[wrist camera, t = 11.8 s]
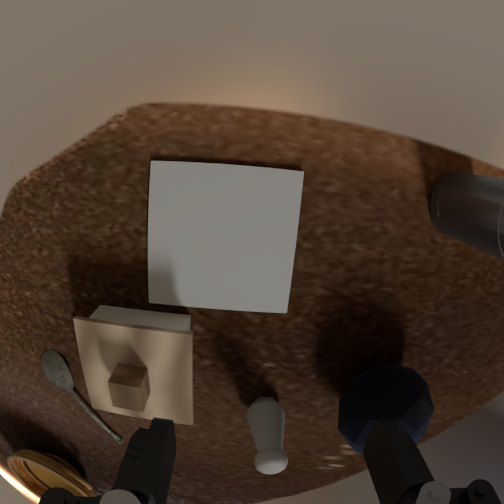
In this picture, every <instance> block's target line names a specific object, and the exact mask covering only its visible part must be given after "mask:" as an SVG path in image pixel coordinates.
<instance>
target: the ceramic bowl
mask: <svg viewBox="0 0 504 504" xmlns="http://www.w3.org/2000/svg"><path fill="white" fill-rule="evenodd" d="M7 463H8V466H9V468H10V470H11V472H12V473H13V474H14V476H15V477H16V478H17V479H18V480H19V481H20V482H21V483H22V484H23V485H24V486H25V487H26V488H27V489H29V490H30V491H31V492H33V493H34V494H35V495H37V496H38V497H40V498H41V497H42V495H43V493H44V492H45V491H46V490H48V489H50V488H54V487H60V488H64V489H67V490H69V491H70V492H71V493H72V494H73V495H74V496H85V497H96V496H95V493H94V491H93V487H92V485H91V484H90V483H88V482H87V481H86V480H85V479H84V478H83V477H82V476H81V475H79V473H78V471H77V470H76V469H75V468H74V467H73V466H72V465H70V464H69V463H68V462H66V461H65V460H63V459H62V458H60V457H58V456H55V455H53V454H49V453H43V452H40V451H36V450H32V449H22V450H19V451H16V452H15V453H13V454H12V455H11V456H9V457H8V458H7Z"/></svg>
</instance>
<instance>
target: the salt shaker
mask: <svg viewBox="0 0 504 504" xmlns="http://www.w3.org/2000/svg"><path fill="white" fill-rule="evenodd" d="M247 420H248V423H249V426H250V429H251V432H252V435H253V438H254V441H255V444H256V447H257V450H258V453H257V454H256V456H255V460H254V464H255V467H256V469H257V470H258V471H260V472H262V473H264V474H276V473H279V472H281V471H282V470H284V469H285V468H286V466H287V464H288V459H287V456H286V453H285V452H284V451H283V450H282V448H283V435H284V421H285V412H284V410H283V407H282V406H281V405H280V404H279V403H277V402H276V401H275V399H274V398H273V397H260V398H258V399H257V400H255V401H254V402H252V404H251V405H250V407H249V408H248V412H247Z"/></svg>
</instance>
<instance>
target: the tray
mask: <svg viewBox="0 0 504 504" xmlns="http://www.w3.org/2000/svg"><path fill="white" fill-rule="evenodd" d="M303 176H304V172H303V171H295V170H286V169H276V168H266V167H255V166H243V165H230V164H216V163H198V162H176V161H151V168H150V185H149V210H148V292H149V303H157V304H166V305H177V306H188V307H199V308H211V309H225V310H239V311H255V312H273V313H287V307H288V300H289V293H290V285H291V278H292V271H293V263H294V255H295V247H296V239H297V231H298V222H299V213H300V205H301V195H302V186H303Z"/></svg>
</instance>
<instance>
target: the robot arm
mask: <svg viewBox="0 0 504 504" xmlns="http://www.w3.org/2000/svg"><path fill="white" fill-rule="evenodd" d="M430 214H431V217H432V220H433V223H434V225H435V226H436V228H437V229H438V230H439V231H440V232H442V233H443V234H446V235H448V236H450V237H453V238H455V239H457V240H460V241H462V242H464V243H467V244H469V245H471V246H474V247H476V248H478V249H481V250H483V251H485V252H487V253H490V254H492V255H494V256H496V257H499V258H501V259H503V260H504V179H503V178H496V177H489V176H481V175H473V174H465V173H448V174H445V175H444V176H442V177H441V178H440V179H439V180H438V181H437V183H436V184H435V186H434V188H433V190H432V193H431V198H430ZM363 453H364V459H365V461H366V464H367V467H368V470H369V472H370V475H371V478H372V481H373V484H374V486H375V490H376V493H377V495H378V498H379V501H380V504H501V502H500V500H499V498H498V496H497V494H496V492H495V490H494V489H493V486H492V485H491V484H490V483H489V482H488V481H486V480H482V479H479V480H475V481H473V482H471V483H470V485H469V486H468V487H467V488H448V486H446V485H445V484H444V483H442V482H438V481H435V480H434V479H433V476H432V474H431V473H430V471H429V469H428V467H427V465H426V463H425V461H424V459H423V457H422V455H420V451H419V449H418V448H417V445H416V444H415V442H414V440H413V438H412V437H411V436H410V435H409V434H408V433H407V432H406V431H405V430H399V428H398V426H397V425H396V423H395V421H393V420H388V421H381V422H376V423H375V424H374V425H373V427H372V430H371V432H370V434H369V436H368V438H367V440H366V443H365V445H364V450H363ZM175 456H176V438H175V430H174V422H173V420H170V419H163V418H157V417H154V418H153V420H152V423H151V426H150V429H145V428H139V429H138V430H137V431H136V432H135V433H134V434H133V435H132V436H131V438H130V441H129V444H128V448H127V449H126V452H125V456H124V457H123V460H122V463H121V466H120V469H119V472H118V474H117V477H116V480H115V483H114V485H113V487H112V489H111V490H110V491H109V492H107V493H105V494H104V495H101V496H97V497H85V496H74V495H73V494H72V493H71V492H70V491H69V490H67V489H64V488H60V487H54V488H50V489H48V490H46V491H45V492H44V493H43V495H42V497H41V499H40V502H39V504H166V501H167V496H168V491H169V485H170V481H171V476H172V471H173V466H174V461H175Z"/></svg>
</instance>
